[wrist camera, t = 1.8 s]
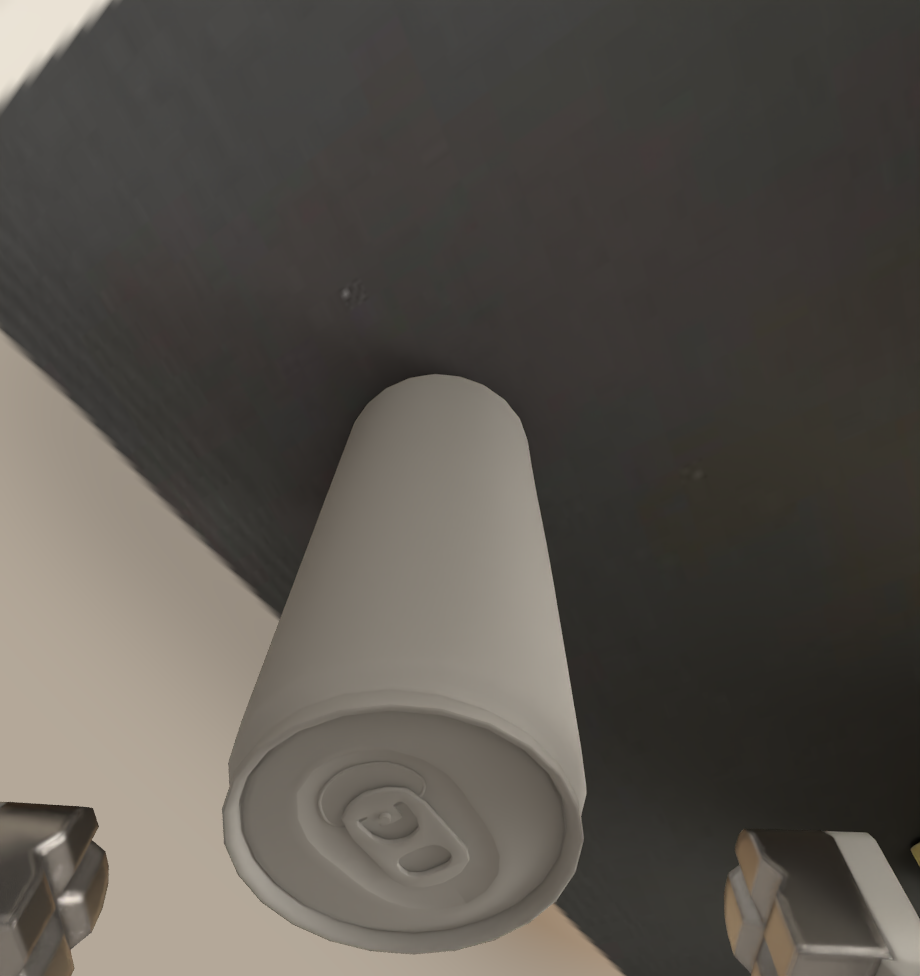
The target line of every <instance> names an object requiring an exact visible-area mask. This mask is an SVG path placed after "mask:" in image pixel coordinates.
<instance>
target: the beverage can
mask: <svg viewBox="0 0 920 976" xmlns="http://www.w3.org/2000/svg"><path fill="white" fill-rule="evenodd" d="M228 765H229V784H230V787H229V790H228V793H227V796H226V799H225V802H224V805H223V808H222V813H223V829H224V830H223V832H224V844H225V846H226V849H227V851H228V853H229V855H230V858H231V860H232V862H233V865H234V867H235V869H236V871H237V873H238V875H239V877H240V878H241V879H242V880H243V881H244V882H245V884H246V885H247V886H248V887H249V888H250V889H251V890H252V892H253V893H254V894H255V895H256V896H257V898H258V899H259V900H260V901H261V902H262V903H263V904H265V905H267V906H268V907H269V908H271V909H272V910H273V911H275V912H276V913H277V914H279V915H280V916H282V917H283V918H284V919H286V920H287V921H289V922H290V923H292V924H293V925H295V926H297V927H300V928H302V929H304V930H306V931H309V932H311V933H313V934H315V935H318V936H320V937H322V938H324V939H327V940H329V941H332V942H336V943H340V944H344V945H348V946H353V947H356V948H361V949H365V950H369V951H377V952H389V953H390V952H391V953H402V954H423V953H434V952H446V951H456V950H460V949H463V948H467V947H471V946H475V945H478V944H482V943H486V942H490V941H493V940H496V939H498V938H500V937H502V936H504V935H506V934H508V933H510V932H512V931H514V930H516V929H518V928H520V927H522V926H524V925H526V924H528V923H530V922H531V921H532V920H533V919H534V918H536V917H537V916H538V915H539V914H541V913H542V912H543V911H544V910H545V909H547V908H548V907H549V906H550V905H551V904H553V903H554V902H555V901H556V900H557V899H558V897H559V896H560V894H561V893H562V891H563V890H564V888H565V887H566V885H567V884H568V882H569V881H570V879H571V878H572V876H573V875H574V873H575V872H576V868H577V864H578V860H579V856H580V852H581V848H582V844H583V840H584V835H583V828H582V820H581V814H582V810H583V805H584V801H585V797H586V782H585V774H584V766H583V759H582V751H581V744H580V738H579V733H578V727H577V721H576V715H575V709H574V703H573V697H572V691H571V685H570V679H569V673H568V667H567V661H566V655H565V649H564V643H563V637H562V631H561V625H560V619H559V613H558V607H557V601H556V595H555V589H554V583H553V578H552V572H551V566H550V561H549V555H548V549H547V544H546V539H545V534H544V529H543V523H542V518H541V513H540V508H539V503H538V498H537V493H536V488H535V482H534V477H533V471H532V465H531V459H530V453H529V447H528V440H527V438H526V435H525V432H524V429H523V426H522V424H521V421H520V418H519V417H518V416H517V415H516V413H515V412H514V411H513V410H512V408H511V407H510V406H509V405H508V403H507V402H506V401H505V400H504V399H503V398H501V397H500V396H499V395H497V394H496V393H494V392H493V391H491V390H490V389H489V388H487V387H486V386H484V385H482V384H479V383H476V382H474V381H471V380H468V379H465V378H463V377H459V376H449V375H440V374H432V375H425V376H419V377H413V378H409V379H406V380H404V381H402V382H399V383H397V384H395V385H392V386H390V387H388V388H386V389H385V390H384V391H382V392H381V393H380V394H379V395H377V396H376V397H375V398H374V399H372V400H371V401H370V402H369V403H368V404H367V405H366V407H365V408H364V409H363V411H362V412H361V414H360V415H359V416H358V418H357V419H356V421H355V422H354V425H353V427H352V430H351V433H350V435H349V438H348V441H347V443H346V446H345V448H344V451H343V454H342V456H341V459H340V462H339V464H338V467H337V470H336V472H335V475H334V478H333V480H332V483H331V486H330V488H329V491H328V494H327V496H326V499H325V502H324V504H323V507H322V509H321V512H320V515H319V517H318V520H317V523H316V525H315V528H314V531H313V533H312V536H311V539H310V541H309V544H308V547H307V549H306V552H305V555H304V557H303V560H302V562H301V565H300V568H299V570H298V573H297V576H296V578H295V581H294V584H293V586H292V589H291V592H290V594H289V597H288V600H287V602H286V605H285V608H284V610H283V613H282V616H281V618H280V621H279V623H278V626H277V629H276V631H275V634H274V637H273V639H272V642H271V645H270V647H269V650H268V653H267V655H266V658H265V661H264V663H263V666H262V669H261V671H260V674H259V677H258V679H257V682H256V684H255V687H254V690H253V693H252V695H251V698H250V700H249V703H248V706H247V709H246V711H245V714H244V716H243V719H242V722H241V725H240V728H239V731H238V734H237V737H236V740H235V743H234V746H233V750H232V753H231V756H230V759H229V763H228Z"/></svg>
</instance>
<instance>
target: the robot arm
mask: <svg viewBox="0 0 920 976" xmlns="http://www.w3.org/2000/svg"><path fill="white" fill-rule="evenodd" d="M98 827H99V826H98V823H97V820H96V816H95V813H94V810H93V808H89V807H79V806H62V805H47V804H31V803H15V802H0V976H71V975H72V972H73V971H74V964H73V960H72V955H71V949H72V948H73V947H74V946H75V945H77V944H78V943H79V942H80V941H81V940H83V939H84V938H85V937H86V936H88V935H89V934H90V933H91V932H92V930H93V928H94V926H95V924H96V921H97V919H98V917H99V915H100V913H101V910H102V908H103V904H104V900H105V895H106V891H107V887H108V870H109V869H108V867H109V866H108V861H107V857H106V853H105V851H104V850H103V849H102V848H101V847H99V846H98V845H97V844H96V843H95V842H93V841H92V838H93V837H94V835H95V833H96V831H97V829H98ZM735 852H736V855H737V858H738V861H739V864H740V865H739V866H737V867H736V868H735V869H734V870H732V871H731V872H730V873H728V876H727V881H726V886H725V891H724V913H725V921H726V926H727V932H728V936H729V940H730V943H731V947H732V950H733V954H734V956H735V957H736V958H737V959H738V960H739V961H740V962H741V963H742V964H743V966H744V967H745V968H746V969H747V970H748V971H749V972H750V973H751V976H920V919H919V917H918V915H917V913H916V912H915V910H914V908H913V906H912V904H911V903H910V901H909V899H908V897H907V896H906V894H905V892H904V890H903V888H902V887H901V885H900V883H899V881H898V879H897V878H896V876H895V874H894V872H893V870H892V869H891V867H890V865H889V863H888V861H887V860H886V858H885V856H884V854H883V852H882V851H881V849H880V847H879V845H878V844H877V842H876V840H875V839H874V838H873V837H871V836H870V835H869V834H868V833H862V832H833V831H825V832H823V831H821V830H783V829H743V831H742V832H741V833H740V834H739V835H738V838H737V842H736V846H735Z"/></svg>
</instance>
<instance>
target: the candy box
mask: <svg viewBox="0 0 920 976" xmlns="http://www.w3.org/2000/svg"><path fill="white" fill-rule="evenodd" d="M910 850H911V852H912V854H913V855H914V857H915V859H916V861H917V863H918V865H919V866H920V842H919V843H918V844H916V845H914V846H913V847H912V848H911V849H910Z"/></svg>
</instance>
